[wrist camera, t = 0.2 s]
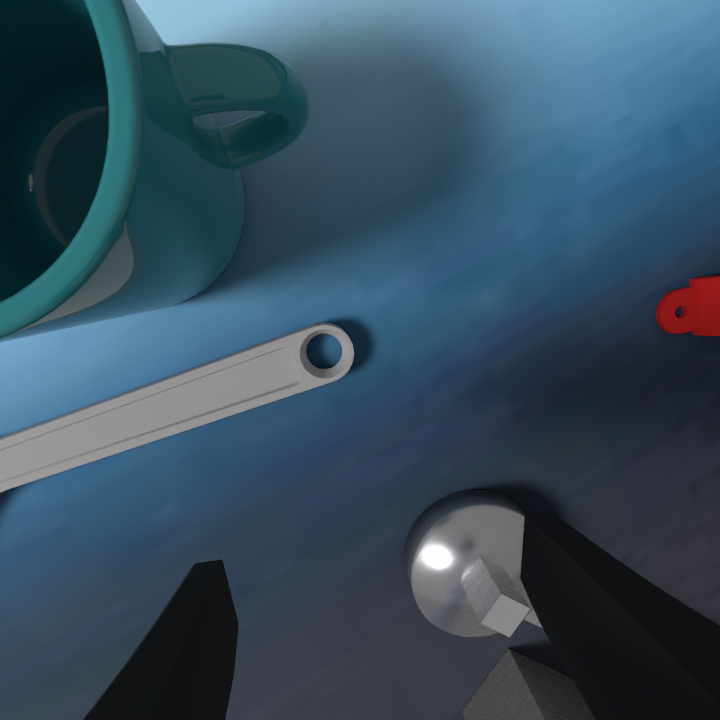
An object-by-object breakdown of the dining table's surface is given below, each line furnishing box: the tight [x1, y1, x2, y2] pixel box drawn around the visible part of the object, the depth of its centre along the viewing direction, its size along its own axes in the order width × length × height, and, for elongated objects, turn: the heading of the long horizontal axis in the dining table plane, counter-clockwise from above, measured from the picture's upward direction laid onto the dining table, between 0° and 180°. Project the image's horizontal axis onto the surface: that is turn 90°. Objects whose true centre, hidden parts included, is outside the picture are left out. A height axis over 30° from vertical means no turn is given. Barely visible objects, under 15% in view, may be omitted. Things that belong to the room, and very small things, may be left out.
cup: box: [0, 0, 309, 342], centre depth 12 cm, size 9×12×11 cm
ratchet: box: [404, 489, 542, 637], centre depth 22 cm, size 7×20×4 cm, turn 59°
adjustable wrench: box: [0, 322, 354, 493], centre depth 19 cm, size 25×6×2 cm, turn 104°
